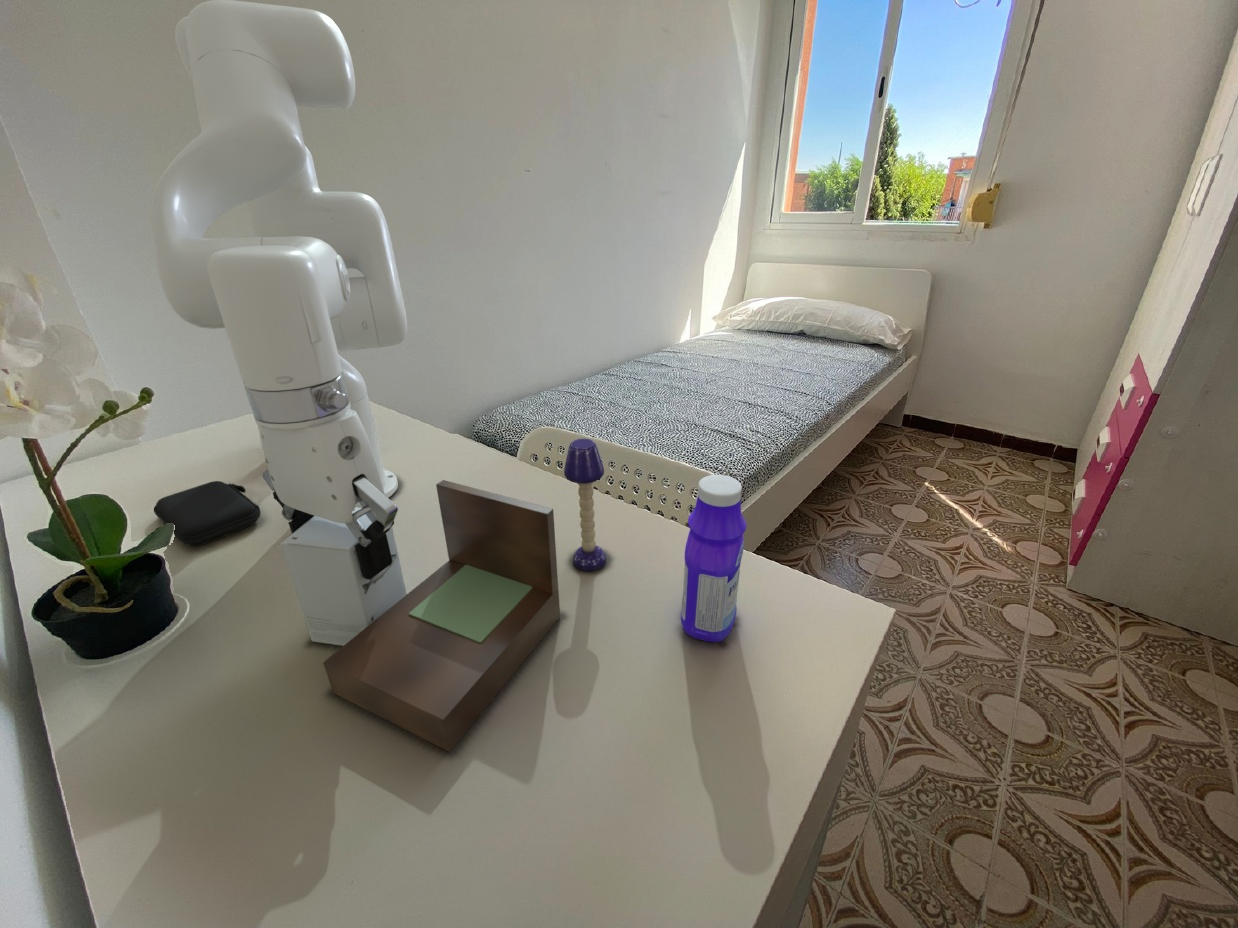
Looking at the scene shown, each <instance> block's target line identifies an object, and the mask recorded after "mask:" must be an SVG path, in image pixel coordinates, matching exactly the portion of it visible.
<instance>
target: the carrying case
mask: <svg viewBox="0 0 1238 928" xmlns="http://www.w3.org/2000/svg"><path fill="white" fill-rule="evenodd" d="M243 493H246V488H245V487H244V486H243V485H238V484H235V483H225V482H223V481H221V480H215V481H214V480H213V481H209V482H207V483H203V484H200V485H197V486H194V487H191V488H188V489H185V490H182V491H179V492H176V493H173V494H170V495H166V496H164V497H162V498H160V499H158V500H157V501H156V504H155V505H154V506H153V513H154V515H155V516H156V517H157V518H158V519H159V520H160V521H161V523H163V525H165V524H166V523H173V524H174V525H175V530H174V534H173V535H174V536H175V537H176V538H177V540H178V541H179V542H180V543H182V544H184V545H188V546H191V547H199V546H203V545H205V544H208V543H211V542H213V541H215V540H218V539H221V538H223V537H226V536H229V535H231V534H233V533H236V532H238V531H239V532H240V531H241V530H244V529H246V528H249V527H251V526H253V525H255V524H256V523H257V521H258V520H259V519H260V517H261V513H262V512H261V511H262V510H261V509H260V507H259V505H257V504H256V503H255V502H253V501H252V500H251V499H250V498H249V497H247V496H246V495H245V494H243Z"/></svg>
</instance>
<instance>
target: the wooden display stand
mask: <svg viewBox="0 0 1238 928" xmlns="http://www.w3.org/2000/svg"><path fill="white" fill-rule="evenodd" d="M435 486H436V487H435V488H436V492H437V498H438V503H439V510H440V516H441V521H442V527H443V533H444V539H445V544H446V545H445V546H446V550H447V556H448V561H446V562H445V563H443V564H442V566H440V567H439V568H438V569H437V570H435V571H434V572H432V574H430V575H429V576H428V577H426V578H425V579H424V580H422V582H420V583H419V584H418V585H417V586H416V587H414V588H413V589H412V590H410V591H409V592H407V595H406V596H404V597H403V598H402V599H401V600H400V601H398V602H397V603H396V604H395V605H393V606H392V607H391V608H390V609H388V610H387V611H386V612H385V613H383V614H382V615H381V616H380V617H379V618H377V619H376V620H375V621H374V622H372V623H371V624H370V625H369V626H367V627H366V628H365V629H364V630H362V631H361V632H360V633H359V634H358V635H356V636H355V637H354V638H353V639H351V640H350V641H349V642H348V643H346V644H345V645H344V646H341V647H340V648H339V649H338V650H336V651H335V652H334V653H333V654H331V655H330V656H329V657H328V658H326V659H325V660H324V661H323V662H322V664H323V668H324V670H325V673H326V675H327V679H328V682H329V685H330V687H331V691H332V693H333V694H334V695H336V696H338V697H340V698H341V699H343V700H346V701H347V702H350V703H352V704H354V705H355V706H357V707H359V708H362V709H364V710H366V711H367V712H369V713H371V714H373V715H375V716H377V717H379V718H381V719H383V720H385V721H387V722H389V723H391V724H393V725H394V726H396V727H399V728H402V729H403V730H406V731H407V732H410V733H411V734H413V735H414V736H417V737H418V738H421V739H423V740H425V741H427V742H429V743H431V744H433V745H435V746H437V747H438V748H441V749H443V750H445V751H447V752H449V753H451V752H452V750H453V749H454V748H455V746H456V745H457V744H458V743H459V742H460V741H461V739H462V738H463V737H464V735H466V733H467V732H468V731H469V730H470V728H471V727H472V726H473V725H474V723H476V721H477V720H478V719H479V717H480V716H481V715H482V713H483V712H484V711H485V710H486V709H487V708H488V706H489V705H490V704H491V702H492V701H493V700H494V699H495V698H496V696H498V694H499V693H500V692H501V690H502V689H503V687H505V685H506V684H507V683H508V682H509V680H510V679H511V678H512V676H514V674H515V673H516V672H517V671H518V670H519V668H520V667H521V666H522V665H523V663H524V662H525V661H526V660H527V658H528V657H529V656H530V654H532V652H533V651H534V649H536V647H537V646H538V645H539V643H540V642H541V641H542V640H543V638H545V636H546V635H547V634H548V632H549V631H550V630H551V629H552V628H553V626H554V625H555V624H556V622H557V621H559V619H560V617H561V606H560V593H559V591H560V590H559V579H558V577H559V575H558V563H557V547H556V545H557V544H556V532H555V516H554V515H555V513H554V508H551V507H548V506H544V505H542V504H541V505H540V504H537V503H533V502H529V501H525V500H522V499H518V498H515V497H510V496H506V495H502V494H498V493H494V492H491V491H488V490H484V489H479V488H475V487H471V486H468V485H464V484H460V483H456V482H453V481H449V480H445V479H442V480H441V481H439V482H438V483H436V484H435Z"/></svg>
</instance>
